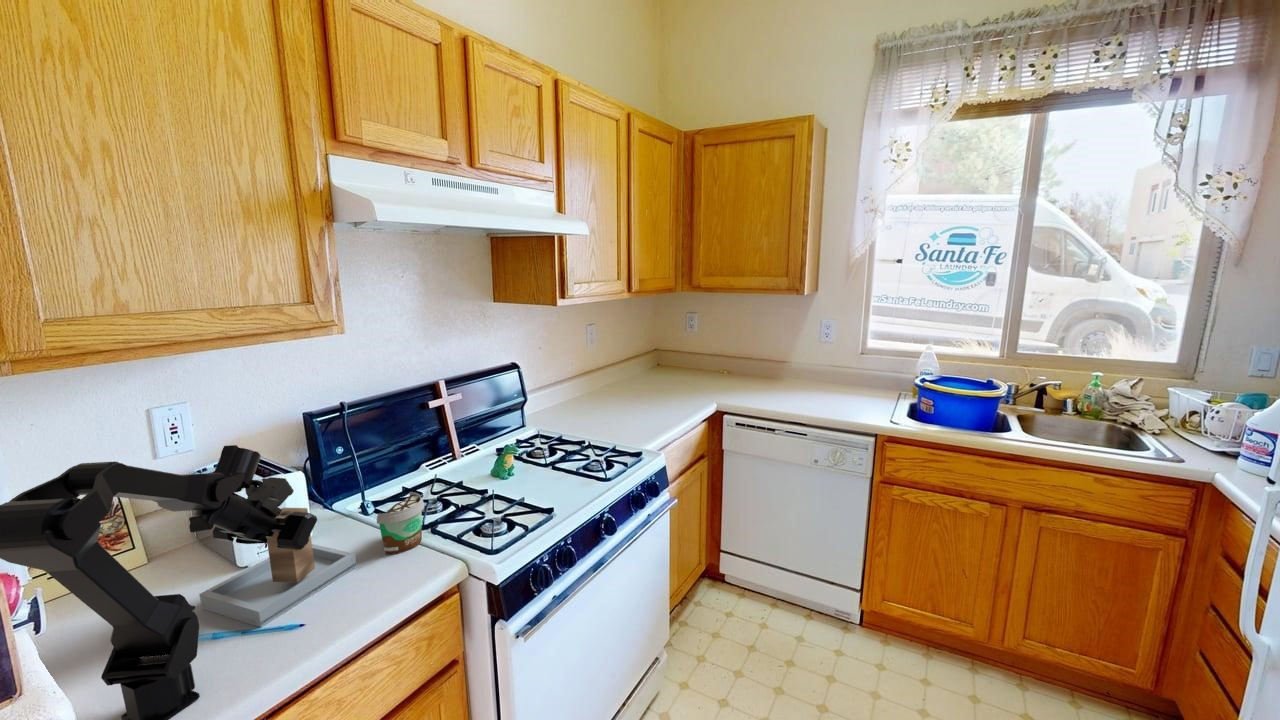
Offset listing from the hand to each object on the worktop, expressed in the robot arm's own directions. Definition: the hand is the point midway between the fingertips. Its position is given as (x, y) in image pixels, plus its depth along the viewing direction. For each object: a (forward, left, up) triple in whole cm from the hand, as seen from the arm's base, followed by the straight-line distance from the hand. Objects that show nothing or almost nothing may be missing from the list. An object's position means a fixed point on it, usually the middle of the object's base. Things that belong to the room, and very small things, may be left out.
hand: (295, 540), depth 105 cm
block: (-1, 0, -7) cm, 7 cm away
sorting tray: (-2, +2, -9) cm, 9 cm away
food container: (+19, -10, -9) cm, 23 cm away
